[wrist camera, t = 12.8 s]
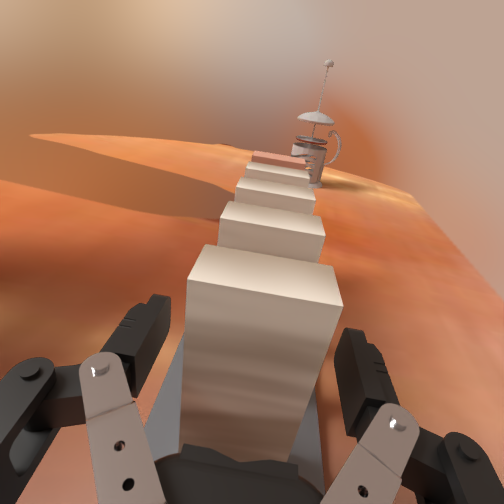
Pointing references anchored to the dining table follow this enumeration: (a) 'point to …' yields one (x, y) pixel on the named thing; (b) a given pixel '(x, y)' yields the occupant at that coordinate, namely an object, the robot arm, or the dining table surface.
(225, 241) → the domino
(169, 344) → the dining table surface
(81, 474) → the dining table surface
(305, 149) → the french press
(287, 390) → the domino
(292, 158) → the end domino
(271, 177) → the domino
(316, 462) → the domino board
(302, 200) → the domino
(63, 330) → the dining table surface
